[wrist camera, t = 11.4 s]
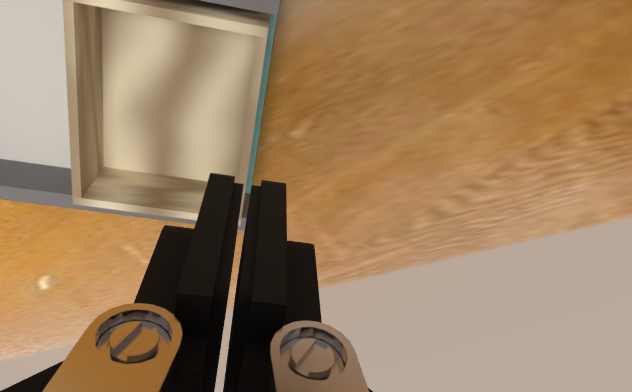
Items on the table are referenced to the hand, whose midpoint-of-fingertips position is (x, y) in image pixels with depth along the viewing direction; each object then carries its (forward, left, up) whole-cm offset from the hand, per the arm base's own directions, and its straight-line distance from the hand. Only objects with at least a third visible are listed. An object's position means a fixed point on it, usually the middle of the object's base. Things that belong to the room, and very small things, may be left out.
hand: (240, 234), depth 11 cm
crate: (+6, +7, -28) cm, 29 cm away
